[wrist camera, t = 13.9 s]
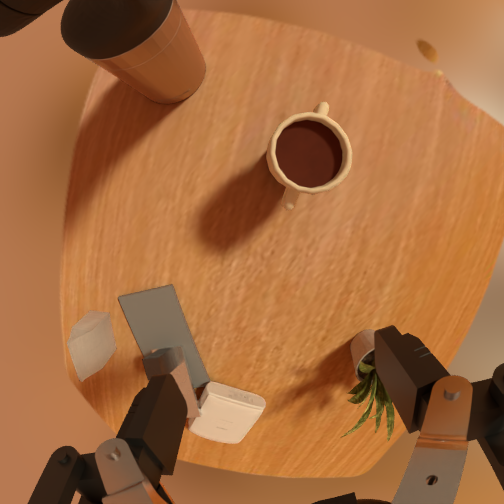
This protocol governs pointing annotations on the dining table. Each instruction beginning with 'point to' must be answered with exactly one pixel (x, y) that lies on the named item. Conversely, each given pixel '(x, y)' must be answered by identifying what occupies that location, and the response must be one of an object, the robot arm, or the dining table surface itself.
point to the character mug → (308, 154)
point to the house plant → (369, 382)
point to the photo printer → (226, 413)
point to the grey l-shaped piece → (174, 373)
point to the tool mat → (162, 326)
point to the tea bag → (91, 343)
